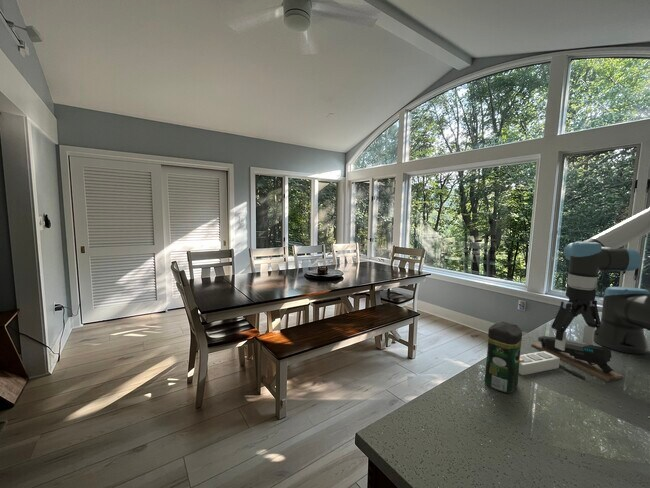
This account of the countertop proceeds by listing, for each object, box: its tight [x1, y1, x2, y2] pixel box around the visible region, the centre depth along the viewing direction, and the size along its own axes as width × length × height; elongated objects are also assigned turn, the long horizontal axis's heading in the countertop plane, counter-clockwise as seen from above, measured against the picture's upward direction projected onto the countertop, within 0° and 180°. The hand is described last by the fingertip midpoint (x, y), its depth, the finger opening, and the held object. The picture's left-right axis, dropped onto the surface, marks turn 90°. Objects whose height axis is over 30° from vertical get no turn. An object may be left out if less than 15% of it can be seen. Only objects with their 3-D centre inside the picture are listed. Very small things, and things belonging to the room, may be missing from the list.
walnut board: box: [531, 342, 623, 382], centre depth 101 cm, size 7×24×1 cm, turn 17°
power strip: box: [518, 350, 586, 380], centre depth 92 cm, size 18×12×4 cm, turn 107°
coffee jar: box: [483, 321, 523, 394], centre depth 85 cm, size 10×8×19 cm
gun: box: [537, 335, 614, 373], centre depth 100 cm, size 4×20×10 cm, turn 22°
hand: (573, 346), depth 100 cm, fingers open, 13 cm apart
